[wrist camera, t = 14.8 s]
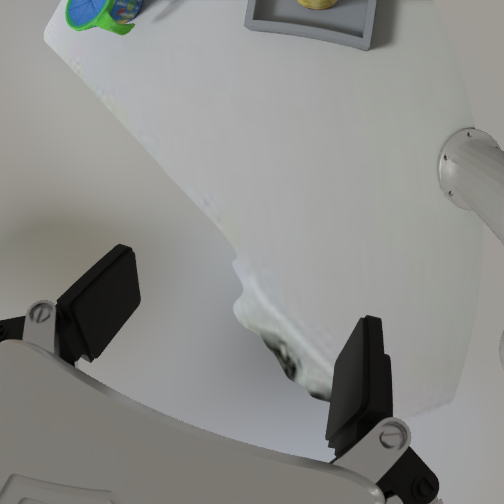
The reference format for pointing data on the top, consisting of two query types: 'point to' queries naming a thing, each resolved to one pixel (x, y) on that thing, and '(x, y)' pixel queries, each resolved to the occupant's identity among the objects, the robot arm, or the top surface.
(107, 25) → the snack cup
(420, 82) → the top surface
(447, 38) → the top surface
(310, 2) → the sauce bottle
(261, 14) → the tray
